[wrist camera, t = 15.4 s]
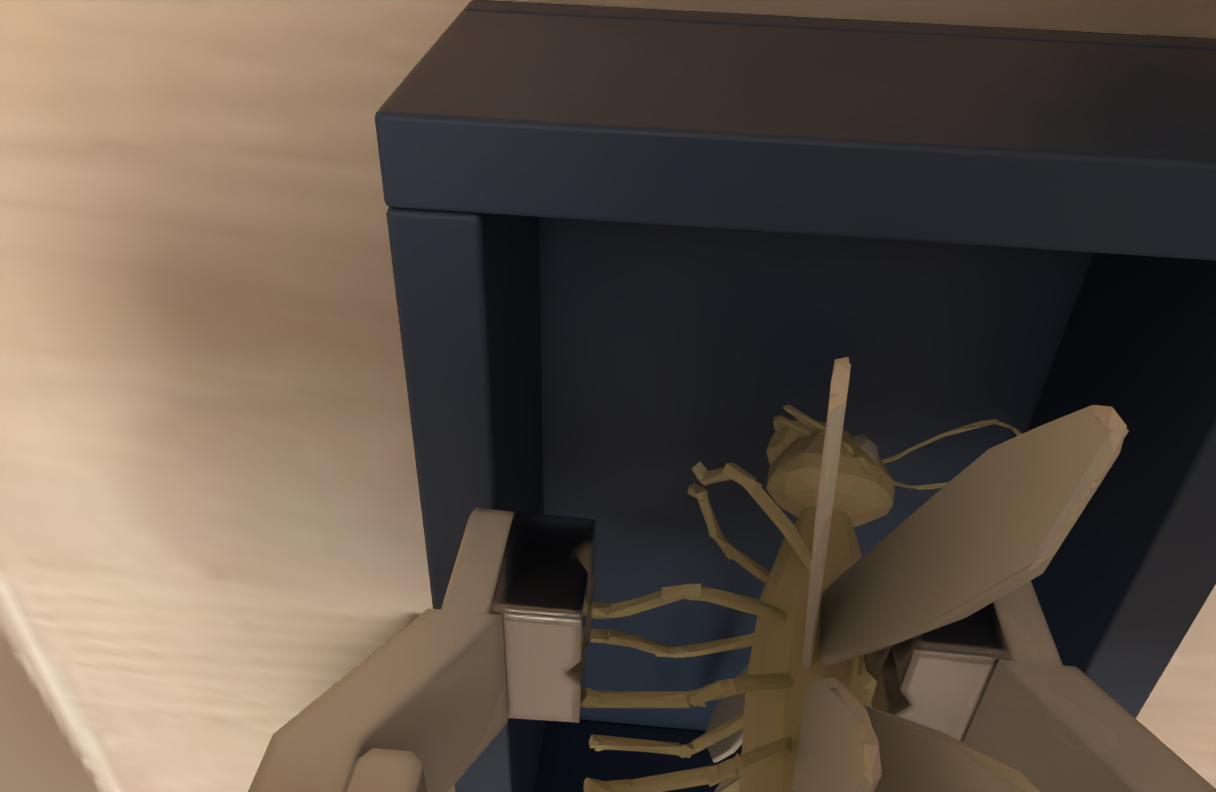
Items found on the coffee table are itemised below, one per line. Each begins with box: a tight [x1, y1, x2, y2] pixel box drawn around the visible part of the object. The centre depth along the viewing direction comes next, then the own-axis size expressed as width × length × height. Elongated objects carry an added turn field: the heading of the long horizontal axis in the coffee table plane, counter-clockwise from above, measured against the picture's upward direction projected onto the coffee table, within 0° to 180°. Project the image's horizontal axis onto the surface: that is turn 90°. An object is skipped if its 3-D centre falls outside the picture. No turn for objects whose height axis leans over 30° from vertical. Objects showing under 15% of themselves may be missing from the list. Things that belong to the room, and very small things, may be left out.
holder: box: [375, 0, 1216, 792], centre depth 15 cm, size 16×10×5 cm, turn 178°
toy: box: [581, 357, 1129, 792], centre depth 13 cm, size 15×9×5 cm
